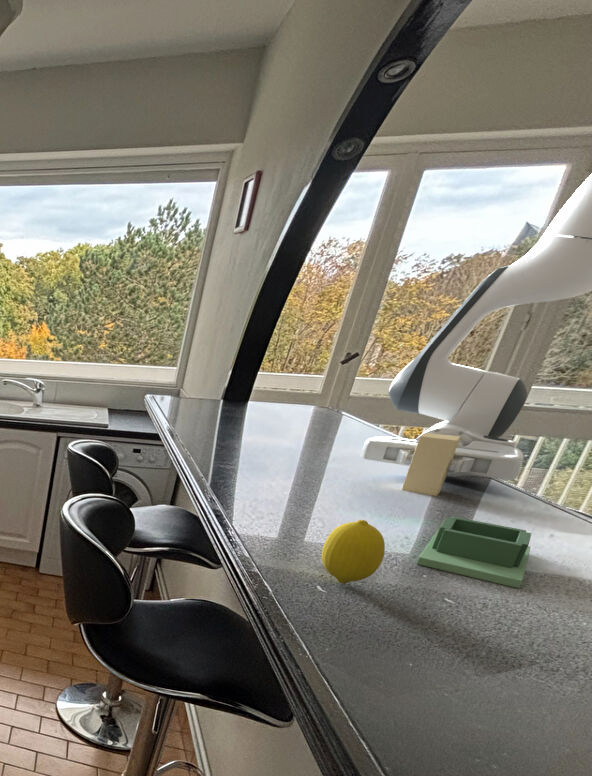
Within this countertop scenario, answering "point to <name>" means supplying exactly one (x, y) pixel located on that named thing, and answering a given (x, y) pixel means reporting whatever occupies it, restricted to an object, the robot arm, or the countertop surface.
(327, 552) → the lemon
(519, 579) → the base holder
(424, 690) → the countertop surface
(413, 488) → the cream pad
